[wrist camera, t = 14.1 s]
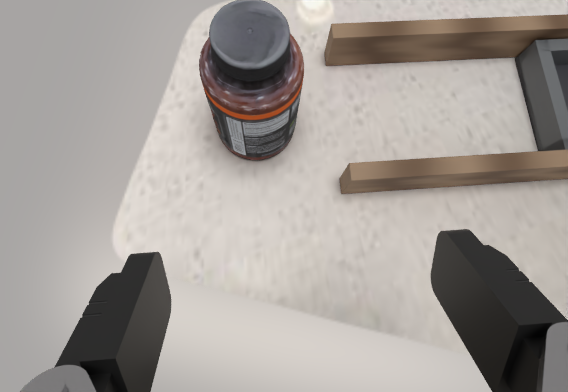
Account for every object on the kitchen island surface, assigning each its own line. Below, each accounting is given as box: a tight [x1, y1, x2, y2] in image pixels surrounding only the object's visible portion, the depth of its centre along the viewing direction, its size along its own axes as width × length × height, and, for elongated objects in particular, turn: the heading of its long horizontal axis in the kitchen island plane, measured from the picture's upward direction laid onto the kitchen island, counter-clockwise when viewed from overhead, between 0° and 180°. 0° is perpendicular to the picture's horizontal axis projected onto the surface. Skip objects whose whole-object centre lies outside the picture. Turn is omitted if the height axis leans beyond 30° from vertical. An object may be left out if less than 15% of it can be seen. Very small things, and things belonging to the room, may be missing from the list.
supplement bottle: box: [199, 0, 304, 160], centre depth 24 cm, size 6×6×11 cm
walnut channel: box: [325, 15, 568, 194], centre depth 29 cm, size 22×12×4 cm, turn 95°
